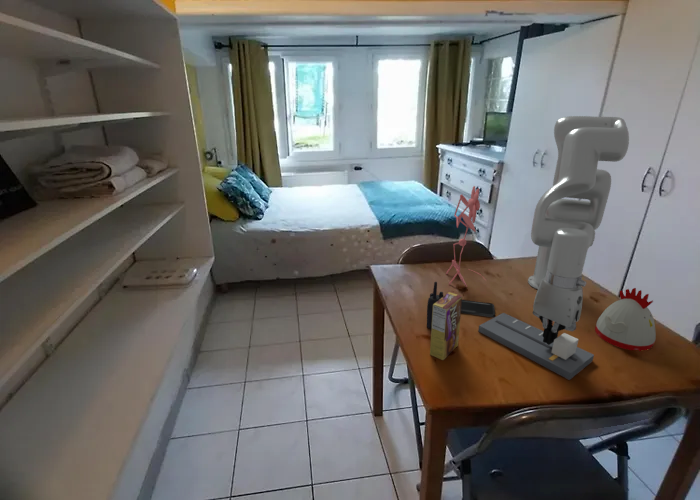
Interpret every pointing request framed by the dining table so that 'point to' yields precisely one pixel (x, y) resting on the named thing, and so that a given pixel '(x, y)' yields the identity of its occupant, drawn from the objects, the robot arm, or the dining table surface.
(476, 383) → the dining table surface
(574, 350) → the fader cap
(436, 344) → the candy box
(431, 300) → the two-way radio
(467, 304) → the phone
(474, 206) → the figurine
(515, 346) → the fader console
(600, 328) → the kitchen timer
